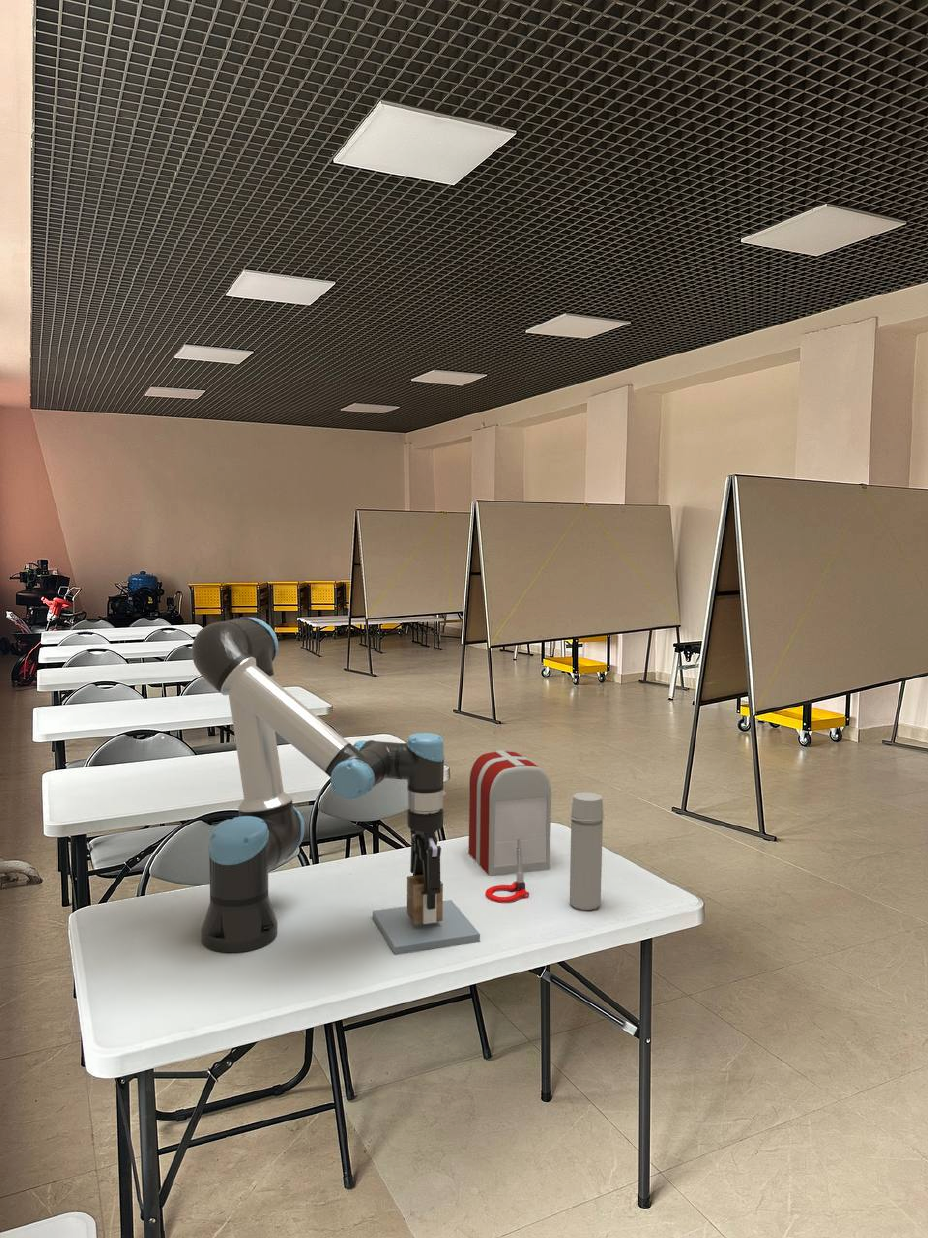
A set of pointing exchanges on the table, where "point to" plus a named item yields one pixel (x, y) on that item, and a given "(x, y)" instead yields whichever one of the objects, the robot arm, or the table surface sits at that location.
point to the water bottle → (586, 851)
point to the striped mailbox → (509, 813)
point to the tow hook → (517, 885)
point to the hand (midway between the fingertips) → (424, 915)
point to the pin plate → (424, 929)
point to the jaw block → (420, 899)
